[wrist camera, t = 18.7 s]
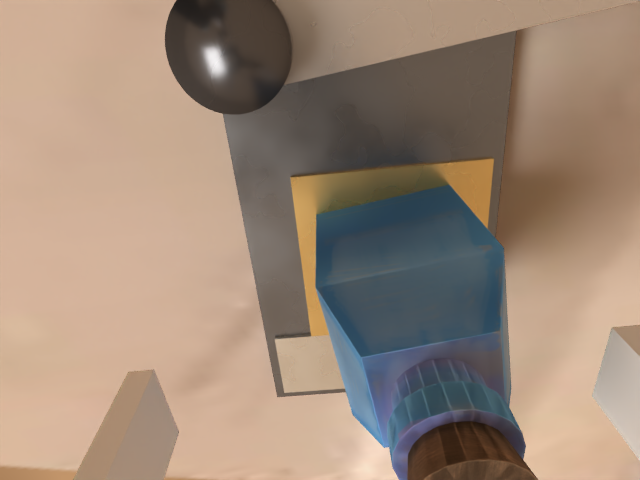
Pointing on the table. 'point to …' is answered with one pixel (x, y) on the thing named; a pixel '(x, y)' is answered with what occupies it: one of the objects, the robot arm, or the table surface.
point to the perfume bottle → (422, 333)
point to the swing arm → (327, 38)
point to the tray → (360, 174)
